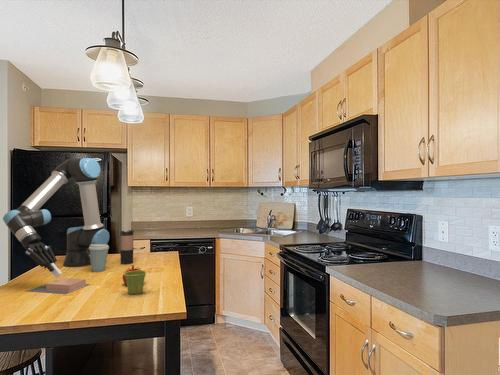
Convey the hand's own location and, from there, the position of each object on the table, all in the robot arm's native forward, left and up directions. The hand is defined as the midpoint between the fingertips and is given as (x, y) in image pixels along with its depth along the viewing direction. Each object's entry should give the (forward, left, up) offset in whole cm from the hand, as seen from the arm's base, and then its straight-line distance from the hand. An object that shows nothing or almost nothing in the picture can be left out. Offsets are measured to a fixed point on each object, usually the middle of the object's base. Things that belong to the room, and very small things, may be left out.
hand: (59, 275), depth 152 cm
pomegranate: (+13, +30, -6) cm, 33 cm away
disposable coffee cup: (-27, +24, -6) cm, 37 cm away
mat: (0, 0, -6) cm, 6 cm away
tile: (-2, -1, -4) cm, 4 cm away
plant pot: (+27, +26, -6) cm, 38 cm away
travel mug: (-38, +43, -6) cm, 58 cm away
